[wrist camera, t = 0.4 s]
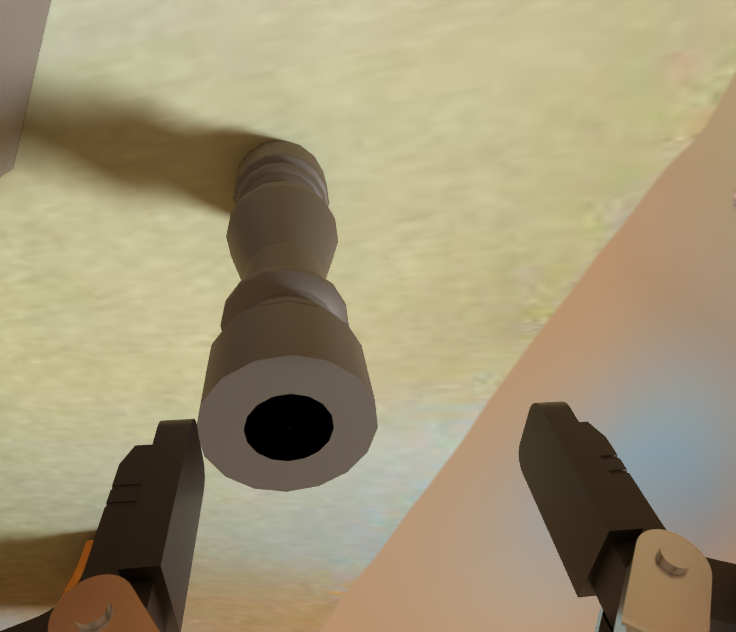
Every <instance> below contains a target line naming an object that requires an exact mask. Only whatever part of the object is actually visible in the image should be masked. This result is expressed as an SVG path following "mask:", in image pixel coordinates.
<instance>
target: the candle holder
mask: <svg viewBox="0 0 736 632" xmlns="http://www.w3.org/2000/svg"><path fill="white" fill-rule="evenodd" d="M233 199H234V203H235V208H234V209H233V210H232V212H231V215H230V220H229V225H228V231H227V236H226V237H227V241H228V245H229V249H230V254H231V257H232V259H233V262H234V264H235V266H236V269H237V271H238V273H239V276H240V278H241V281H240V283H239V284H238V285H237V287H236V288H235V289H234V290H233V292H232V293H231V294H230V296H229V297H228V298H227V300H226V302H225V306H224V311H223V316H222V321H221V329H222V332H221V333H220V335H219V336H218V337H217V339H216V340H215V341H214V342H213V344H212V346H211V351H210V356H209V361H208V366H207V371H206V377H205V382H204V388H203V394H202V399H201V405H200V410H199V416H198V422H197V429H198V434H199V440H200V444H201V447H202V450H203V453H204V456H205V457H206V458H207V459H208V460H209V461H210V462H211V463H212V464H213V465H214V466H215V467H216V468H217V469H218V470H219V471H220V472H221V473H222V474H224V475H225V476H226V477H228V478H230V479H233V480H235V481H238V482H240V483H242V484H245V485H247V486H250V487H252V488H255V489H265V490H275V491H286V492H287V491H293V490H299V489H304V488H310V487H316V486H320V485H322V484H324V483H326V482H328V481H330V480H332V479H334V478H336V477H338V476H340V475H342V474H344V473H346V472H348V471H349V470H350V469H351V468H352V467H353V466H354V465H355V464H356V463H357V462H358V461H359V460H360V459H361V458H362V457H363V456H364V455H365V454H366V453H367V452H368V450H369V447H370V445H371V442H372V440H373V437H374V435H375V433H376V430H377V428H378V425H377V416H376V407H375V399H374V395H373V391H372V387H371V383H370V379H369V375H368V371H367V366H366V362H365V358H364V354H363V350H362V346H361V344H360V343H359V341H358V340H357V338H356V337H355V335H354V334H353V332H352V331H351V329H350V328H349V324H348V317H347V309H346V304H345V302H344V300H343V299H342V297H341V296H340V294H339V293H338V291H337V290H336V288H335V287H334V285H333V284H332V283H331V282H329V281H328V280H326V277H327V274H328V271H329V268H330V265H331V262H332V259H333V256H334V253H335V249H336V246H337V243H338V237H337V230H336V222H335V218H334V216H333V214H332V213H331V211H330V209H329V208H328V205H329V199H328V192H327V185H326V181H325V177H324V173H323V171H322V169H321V167H320V165H319V164H318V162H317V160H316V158H315V157H314V156H313V155H312V154H311V153H309V152H308V151H307V150H305V149H304V148H303V147H302V146H300V145H297V144H293V143H290V142H286V141H275V142H267V143H264V144H262V145H260V146H258V147H257V148H255V149H253V150H252V151H250V152H249V153H248V155H247V156H246V158H245V159H244V160H243V162H242V163H241V165H240V166H239V171H238V177H237V182H236V187H235V192H234V197H233Z"/></svg>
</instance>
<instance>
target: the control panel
mask: <svg viewBox="0 0 736 632" xmlns="http://www.w3.org/2000/svg"><path fill="white" fill-rule="evenodd" d="M50 3H51V0H0V177H2V176H3V175H4V174H6V173H7V172H9V171H10V170H12V169H13V166H14V162H15V157H16V153H17V148H18V144H19V139H20V135H21V131H22V126H23V122H24V117H25V113H26V109H27V104H28V100H29V95H30V91H31V87H32V82H33V78H34V73H35V69H36V65H37V60H38V56H39V51H40V47H41V43H42V38H43V34H44V29H45V25H46V21H47V16H48V12H49V7H50Z"/></svg>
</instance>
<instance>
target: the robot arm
mask: <svg viewBox="0 0 736 632" xmlns="http://www.w3.org/2000/svg"><path fill="white" fill-rule="evenodd" d="M519 461H520V467H521V470H522V472H523V475H524V477H525V479H526V481H527V484H528V486H529V488H530V491H531V493H532V495H533V497H534V500H535V502H536V504H537V506H538V509H539V511H540V513H541V515H542V517H543V520H544V522H545V524H546V526H547V529H548V531H549V533H550V535H551V538H552V540H553V542H554V544H555V547H556V549H557V551H558V553H559V556H560V558H561V560H562V562H563V565H564V567H565V569H566V571H567V573H568V576H569V578H570V580H571V583H572V585H573V587H574V589H575V592H576V594H577V596H578V597H586V596H597V598H598V600H599V602H600V604H601V606H602V608H601V610H600V612H599V615H598V619H597V623H596V628H595V632H736V564H733V563H728V562H723V561H718V560H714V559H710V558H707V557H705V556H704V555H703V553H702V552H701V551H700V550H699V549H698V548H697V547H696V546H695V545H694V544H692V543H691V542H690V541H688V540H687V539H685V538H684V537H682V536H680V535H678V534H676V533H673V532H670V531H667V530H666V529H665V527H664V526H663V524H662V523H661V521H660V520H659V518H658V517H657V515H656V514H655V512H654V511H653V509H652V508H651V506H650V505H649V503H648V501H647V500H646V498H645V497H644V496H643V494H642V492H641V491H640V489H639V488H638V486H637V484H636V483H635V481H634V480H633V478H632V477H631V475H630V474H629V473H627V471H626V470H627V469H626V467H625V466H624V464H623V463H622V461H621V460H620V459H619V458H617V454H616V452H615V451H614V449H613V448H612V446H611V444H610V443H609V441H608V440H607V438H606V437H605V436H604V435H603V434H601V433H600V432H599V431H598V430H597V429H595V428H594V427H593V426H592V425H591V424H589V423H588V422H579V421H578V420H577V418H576V417H575V415H574V413H573V412H572V410H571V408H570V407H569V405H568V404H567V403H565V402H546V403H534V404H532V406H531V407H530V410H529V413H528V417H527V421H526V424H525V428H524V431H523V435H522V438H521V442H520V446H519ZM204 480H205V473H204V462H203V456H202V451H201V445H200V440H199V434H198V429H197V424H196V421H195V419H185V420H165V421H160V422H159V424H158V427H157V431H156V434H155V438H154V441H153V445H138V446H135V447H134V448H133V449H132V450H131V451H130V452H129V454H128V455H127V456H126V457H125V458H124V460H123V461H122V462H121V463H120V464H119V467H118V470H117V473H116V476H115V479H114V482H113V485H112V490H111V491H110V494H109V497H108V500H107V506H106V507H105V508H104V511H103V514H102V517H101V520H100V523H99V526H98V529H97V532H96V535H95V538H94V541H93V544H92V547H91V550H90V553H89V556H88V559H87V562H86V565H85V568H84V571H83V573H82V576H81V578H80V580H79V581H78V583H77V585H75V586H74V587H72V588H71V589H70V590H69V591H68V592H66V593H65V594H64V595H63V597H62V598H61V599H60V600H59V601H58V603H57V604H56V606H55V607H54V608H52V609H51V610H49V611H47V612H46V613H44V614H42V615H40V616H38V617H36V618H33V619H31V620H28V621H26V622H23V623H20V624H18V625H15V626H13V627H10V628H7V629H5V630H2V631H0V632H181V627H182V621H183V615H184V609H185V602H186V596H187V590H188V584H189V578H190V572H191V566H192V560H193V553H194V547H195V541H196V535H197V529H198V523H199V517H200V510H201V504H202V498H203V492H204Z"/></svg>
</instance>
